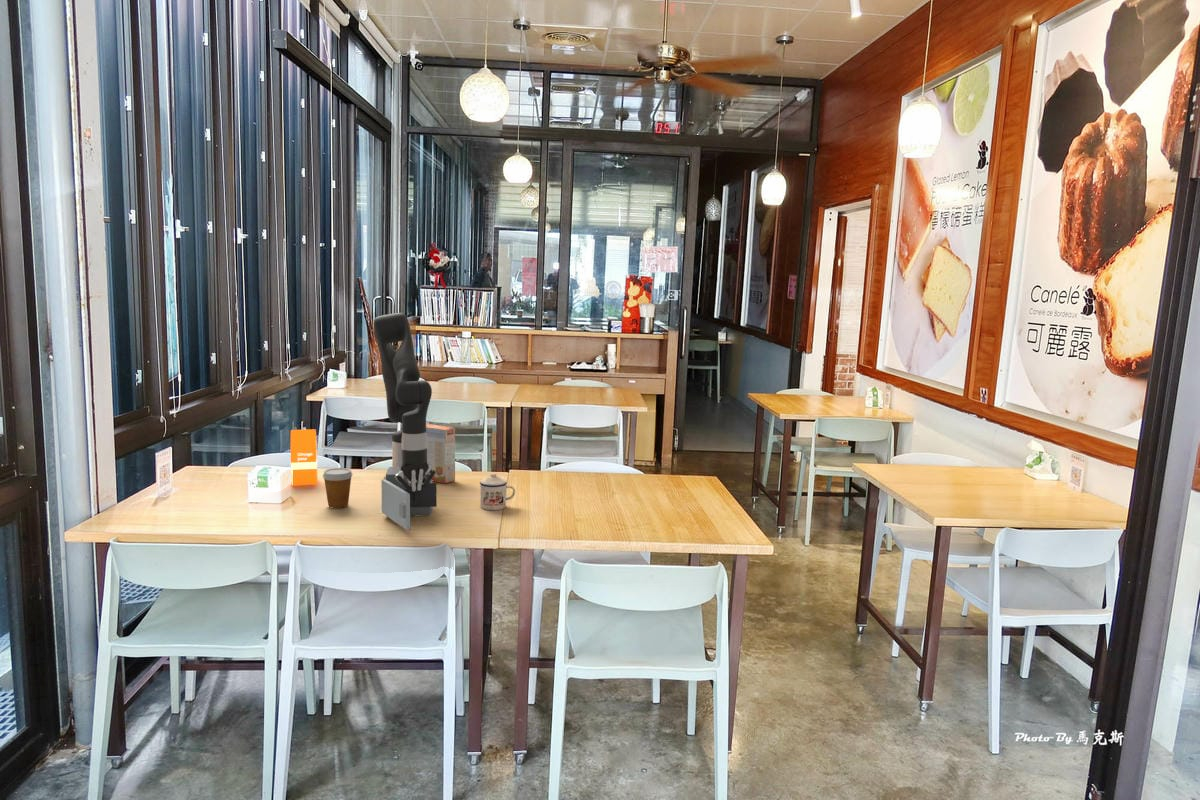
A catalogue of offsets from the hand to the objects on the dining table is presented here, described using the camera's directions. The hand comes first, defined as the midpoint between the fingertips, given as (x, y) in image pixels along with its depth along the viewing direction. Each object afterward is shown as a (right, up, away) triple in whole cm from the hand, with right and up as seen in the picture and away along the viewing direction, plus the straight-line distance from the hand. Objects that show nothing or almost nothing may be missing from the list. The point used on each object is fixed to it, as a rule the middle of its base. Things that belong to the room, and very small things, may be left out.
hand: (415, 501), depth 239 cm
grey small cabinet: (-7, -6, +21) cm, 23 cm away
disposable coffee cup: (-32, -5, +25) cm, 40 cm away
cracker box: (-6, 0, +62) cm, 62 cm away
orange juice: (-53, 0, +52) cm, 75 cm away
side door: (-8, -7, +6) cm, 12 cm away
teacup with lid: (+21, -6, +29) cm, 37 cm away
